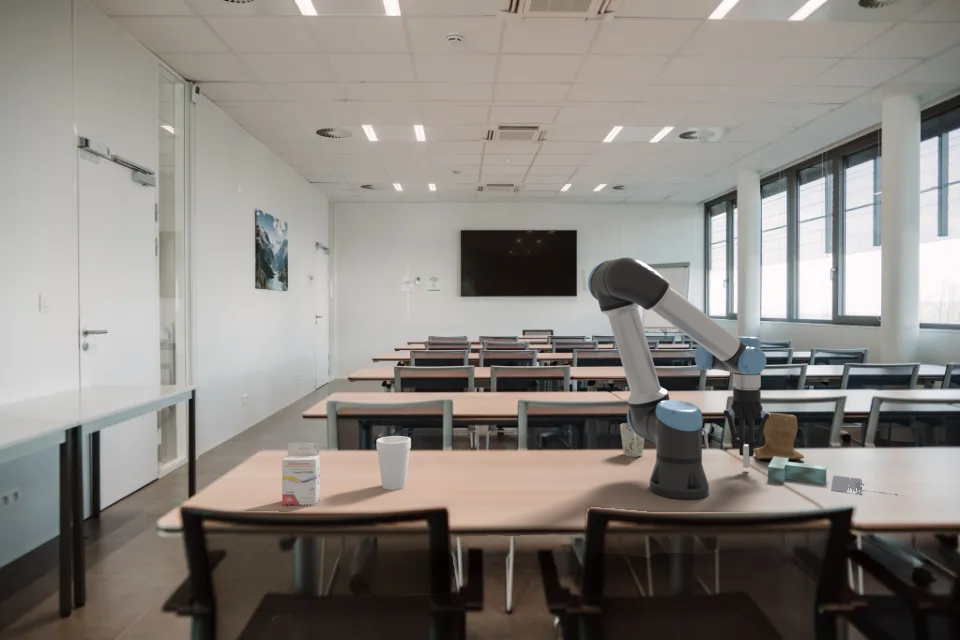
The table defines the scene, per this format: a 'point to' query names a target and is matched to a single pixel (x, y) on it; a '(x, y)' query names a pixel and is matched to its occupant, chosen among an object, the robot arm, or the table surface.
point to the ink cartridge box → (301, 475)
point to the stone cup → (779, 438)
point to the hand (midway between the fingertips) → (746, 466)
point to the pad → (846, 484)
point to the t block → (795, 471)
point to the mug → (631, 441)
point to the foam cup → (393, 460)
